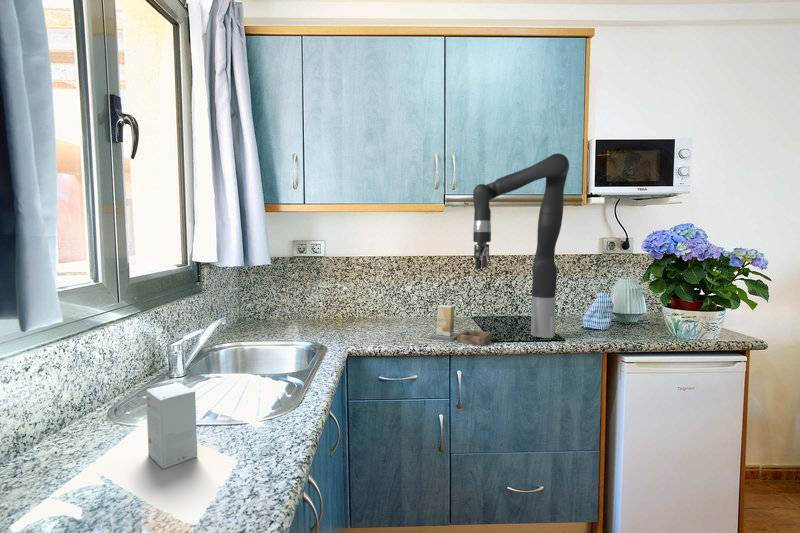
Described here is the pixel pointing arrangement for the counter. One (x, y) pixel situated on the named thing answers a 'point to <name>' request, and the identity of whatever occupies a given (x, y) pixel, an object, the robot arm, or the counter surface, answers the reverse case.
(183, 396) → the small box
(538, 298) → the robot arm
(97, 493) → the counter surface
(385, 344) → the counter surface
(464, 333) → the walnut holder
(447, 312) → the skincare box
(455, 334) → the grey flat plate
